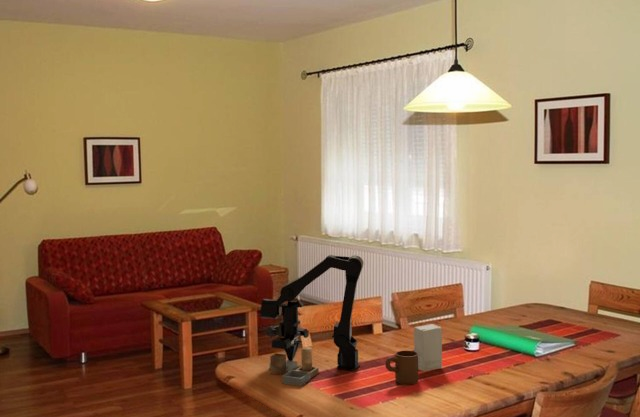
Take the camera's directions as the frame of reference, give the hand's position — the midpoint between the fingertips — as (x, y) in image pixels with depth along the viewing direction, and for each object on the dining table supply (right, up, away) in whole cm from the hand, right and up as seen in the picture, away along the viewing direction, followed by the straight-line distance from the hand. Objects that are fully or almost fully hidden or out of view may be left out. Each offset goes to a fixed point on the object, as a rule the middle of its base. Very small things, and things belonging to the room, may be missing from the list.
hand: (290, 361), depth 246 cm
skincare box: (+48, -1, -5) cm, 49 cm away
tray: (+3, -3, -18) cm, 18 cm away
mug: (+37, -3, -19) cm, 42 cm away
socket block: (+6, -2, -11) cm, 12 cm away
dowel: (+6, -2, -11) cm, 12 cm away
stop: (-4, -2, -8) cm, 9 cm away
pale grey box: (-2, -2, -3) cm, 4 cm away
